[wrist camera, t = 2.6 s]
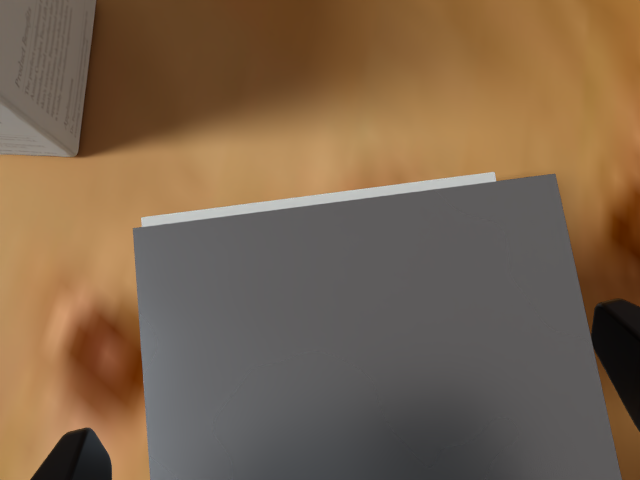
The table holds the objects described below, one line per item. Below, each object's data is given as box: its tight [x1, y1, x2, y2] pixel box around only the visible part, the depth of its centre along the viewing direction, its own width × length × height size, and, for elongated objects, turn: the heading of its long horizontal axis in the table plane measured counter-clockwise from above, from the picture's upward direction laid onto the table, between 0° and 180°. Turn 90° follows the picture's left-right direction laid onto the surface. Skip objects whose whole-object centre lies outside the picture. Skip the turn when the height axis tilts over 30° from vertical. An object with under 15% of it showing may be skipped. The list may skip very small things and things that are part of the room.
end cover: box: [133, 174, 622, 480], centre depth 11 cm, size 6×6×13 cm
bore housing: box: [141, 172, 496, 227], centre depth 17 cm, size 10×10×2 cm
